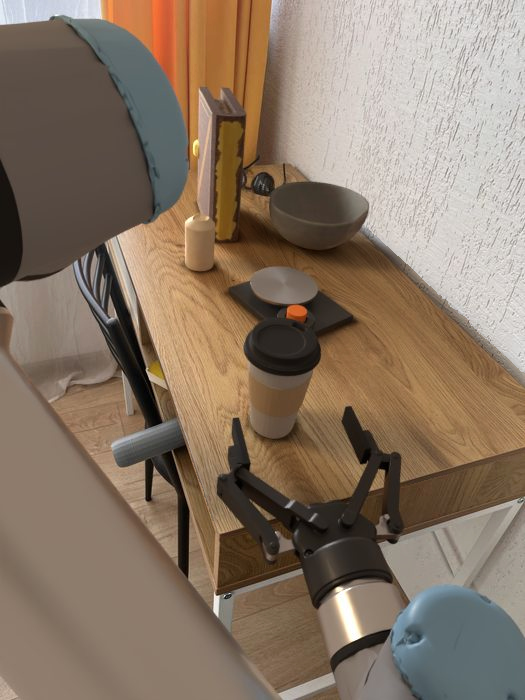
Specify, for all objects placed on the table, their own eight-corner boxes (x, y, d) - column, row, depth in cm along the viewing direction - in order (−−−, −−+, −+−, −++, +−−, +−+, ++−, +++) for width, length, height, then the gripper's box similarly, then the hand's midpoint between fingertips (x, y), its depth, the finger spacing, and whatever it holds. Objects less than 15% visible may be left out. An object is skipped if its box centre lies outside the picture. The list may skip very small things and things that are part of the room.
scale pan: (236, 280, 93) (236, 277, 93) (288, 263, 99) (288, 260, 99) (279, 314, 86) (279, 311, 86) (331, 294, 92) (332, 291, 92)
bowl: (290, 212, 123) (295, 170, 117) (371, 238, 117) (382, 195, 111) (247, 246, 109) (251, 200, 103) (338, 277, 103) (348, 230, 96)
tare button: (282, 316, 86) (283, 308, 85) (296, 311, 88) (298, 302, 87) (294, 327, 85) (296, 318, 83) (309, 321, 86) (311, 312, 85)
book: (244, 241, 111) (254, 116, 95) (204, 242, 109) (207, 115, 93) (226, 197, 127) (231, 84, 111) (190, 197, 125) (191, 82, 109)
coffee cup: (310, 406, 75) (328, 322, 65) (299, 457, 68) (317, 371, 58) (246, 392, 76) (255, 307, 66) (228, 440, 69) (235, 352, 59)
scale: (227, 293, 95) (228, 279, 93) (286, 273, 102) (288, 259, 100) (291, 347, 85) (294, 332, 83) (352, 320, 92) (356, 306, 90)
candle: (186, 256, 104) (186, 208, 97) (214, 258, 104) (216, 210, 98) (183, 270, 100) (183, 221, 93) (212, 272, 100) (214, 224, 94)
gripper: (212, 643, 46) (185, 452, 61) (466, 593, 51) (382, 429, 67) (215, 603, 41) (185, 407, 57) (495, 553, 46) (397, 387, 62)
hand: (291, 419), depth 62 cm, fingers open, 13 cm apart
